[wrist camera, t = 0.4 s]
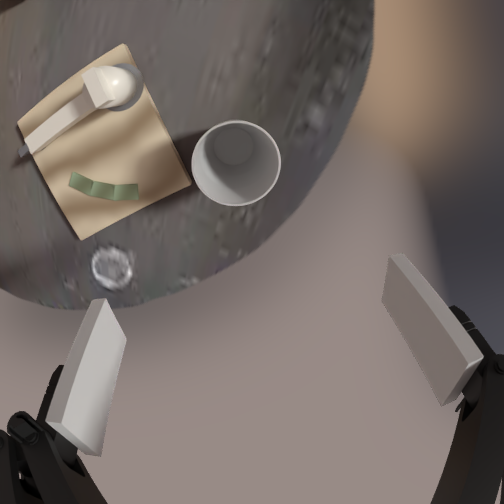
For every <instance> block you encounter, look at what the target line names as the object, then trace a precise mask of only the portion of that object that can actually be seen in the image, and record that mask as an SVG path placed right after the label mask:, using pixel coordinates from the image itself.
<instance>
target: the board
mask: <svg viewBox="0 0 504 504" xmlns="http://www.w3.org/2000/svg"><path fill="white" fill-rule="evenodd" d="M100 66H112V67H118V68H123V69H127V70H129V71H131V72H132V73H133V74H134V75H135V77H136V80H137V90H136V93H135V95H134V96H133V98H132V99H131V100H130V101H129V102H127V103H126V104H124V105H120V106H115V107H109V108H104V109H97V110H95V111H93V112H92V113H90V114H89V115H88V116H86V117H85V118H83V119H82V120H80V121H79V122H77V123H76V124H75V125H73V126H72V127H70V128H69V129H68V130H66V131H65V132H64V133H62V134H61V135H60V136H58V137H57V138H56V139H55V140H53V141H52V142H51V143H49V144H48V145H47V146H46V147H45V148H43V149H42V150H39V151H37V152H35V153H33V154H32V156H33V158H34V160H35V162H36V164H37V166H38V167H39V169H40V171H41V173H42V175H43V177H44V179H45V181H46V183H47V184H48V186H49V188H50V190H51V192H52V193H53V195H54V197H55V199H56V201H57V202H58V204H59V206H60V207H61V209H62V211H63V212H64V214H65V216H66V217H67V219H68V221H69V222H70V224H71V226H72V227H73V229H74V230H75V232H76V234H77V235H78V237H79V238H80V240H81V241H82V240H83V239H85V238H87V237H89V236H91V235H92V234H94V233H96V232H98V231H100V230H101V229H103V228H105V227H107V226H109V225H111V224H113V223H114V222H116V221H118V220H120V219H122V218H124V217H126V216H128V215H130V214H132V213H134V212H136V211H138V210H140V209H142V208H144V207H146V206H148V205H150V204H152V203H154V202H156V201H158V200H160V199H162V198H164V197H166V196H168V195H170V194H172V193H174V192H177V191H179V190H181V189H183V188H185V187H187V186H190V185H191V183H192V180H191V178H190V176H189V174H188V172H187V170H186V168H185V166H184V164H183V162H182V160H181V158H180V156H179V154H178V152H177V150H176V148H175V146H174V144H173V142H172V140H171V138H170V136H169V133H168V131H167V129H166V127H165V125H164V123H163V121H162V119H161V117H160V115H159V113H158V111H157V109H156V107H155V104H154V102H153V100H152V98H151V96H150V94H149V92H148V90H147V88H146V85H145V83H144V80H143V76H142V74H141V72H140V71H139V70H138V68H137V66H136V64H135V62H134V60H133V58H132V55H131V53H130V51H129V49H128V47H127V45H125V44H123V43H122V44H121V45H119V46H117V47H116V48H114V49H112V50H111V51H109V52H107V53H106V54H104V55H103V56H101V57H100V58H98V59H96V60H95V61H93V62H92V63H90V64H89V65H87V66H86V67H85V68H83V69H82V70H80V71H79V72H77V73H76V74H75V75H73V76H72V77H71V78H69V79H68V80H67V81H65V82H64V83H63V84H61V85H60V86H59V87H57V88H56V89H55V90H54V91H52V92H51V93H50V94H49V95H47V96H46V97H45V98H44V99H43V100H41V101H40V102H39V103H38V104H37V105H36V106H34V107H33V108H32V109H31V110H30V111H29V112H28V113H27V114H26V115H24V116H23V117H22V118H21V119H20V120H19V121H18V122H17V123H18V125H19V128H20V130H21V132H22V134H23V137H24V139H25V138H26V137H27V136H29V135H30V134H31V133H32V132H33V131H34V130H35V129H37V128H38V127H39V126H40V125H41V124H42V123H44V122H45V121H46V120H47V119H49V118H50V117H51V116H52V115H53V114H55V113H56V112H57V111H59V110H60V109H61V108H62V107H64V106H65V105H66V104H68V103H69V102H70V101H72V100H73V99H75V98H76V97H77V96H79V95H80V94H82V93H83V92H82V88H83V83H84V80H83V78H82V76H81V75H82V74H83V73H85V72H86V71H87V70H89V69H90V68H92V67H100Z"/></svg>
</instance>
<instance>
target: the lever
mask: <svg viewBox="0 0 504 504" xmlns="http://www.w3.org/2000/svg"><path fill="white" fill-rule="evenodd" d="M81 76H82V78H83V80H84V83H83V88H82V92H83V93H82V94H80V95H79V96H77V97H76V98H75V99H73V100H72V101H70V102H69V103H68V104H66V105H65V106H64V107H62V108H61V109H60V110H59V111H57V112H56V113H55V114H53V115H52V116H51V117H50V118H49V119H47V120H46V121H45V122H44V123H42V124H41V125H40V126H39V127H38V128H37V129H35V130H34V131H33V132H32V133H31V134H30V135H29V136H27V137H26V138H25V139H24V141H25V143H26V144H25V145H24V146H23V147H21V148H20V149H19V150H18V153H19V155H20V157H23V156H25V155H27V154H30V153H31V154H33V153H35V152H37V151H39V150H42V149H43V148H45V147H46V146H47V145H48V144H49V143H51V142H52V141H53V140H55V139H56V138H57V137H58V136H60V135H61V134H62V133H64V132H65V131H66V130H68V129H69V128H70V127H72V126H73V125H75V124H76V123H77V122H79V121H80V120H82V119H83V118H85V117H86V116H88V115H89V114H90V113H92V112H93V111H95V110H97V109H104V108H109V107H115V106H120V105H124V104H126V103H127V102H129V101H130V100H131V99H132V98H133V96H134V95H135V93H136V90H137V80H136V77H135V75H134V74H133V73H132V72H131V71H129V70H127V69H123V68H118V67H112V66H100V67H92V68H90V69H89V70H87V71H86V72H85V73H83V74H82V75H81Z"/></svg>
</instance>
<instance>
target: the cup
mask: <svg viewBox="0 0 504 504" xmlns="http://www.w3.org/2000/svg"><path fill="white" fill-rule="evenodd" d="M280 167H281V158H280V153H279V149H278V147H277V145H276V143H275V141H274V140H273V138H272V137H271V136H270V135H269V134H268V133H267V132H266V131H265V130H264V129H262V128H261V127H259V126H257V125H255V124H252V123H250V122H247V121H242V120H228V121H224V122H221V123H219V124H217V125H215V126H214V127H212V128H211V129H210V130H208V131H207V132H206V133H205V134H204V135H203V136H202V137H201V138H200V140H199V141H198V143H197V145H196V147H195V149H194V152H193V155H192V173H193V177H194V179H195V182H196V184H197V185H198V187H199V188H200V190H201V191H202V192H203V193H204V194H205V195H206V196H208V197H209V198H210V199H212V200H214V201H216V202H218V203H220V204H224V205H228V206H242V205H247V204H251V203H253V202H256V201H258V200H259V199H261V198H262V197H264V196H265V195H266V194H267V193H268V192H269V191H270V190H271V189H272V188H273V186H274V185H275V183H276V181H277V179H278V176H279V173H280Z"/></svg>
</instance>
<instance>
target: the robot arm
mask: <svg viewBox="0 0 504 504" xmlns="http://www.w3.org/2000/svg"><path fill="white" fill-rule="evenodd" d="M382 303H383V304H384V306H385V308H386V309H387V311H388V312H389V314H390V316H391V317H392V319H393V321H394V322H395V324H396V326H397V327H398V329H399V331H400V332H401V334H402V336H403V337H404V339H405V341H406V342H407V344H408V346H409V348H410V349H411V351H412V353H413V355H414V357H415V358H416V360H417V362H418V364H419V366H420V367H421V369H422V371H423V373H424V375H425V377H426V378H427V380H428V382H429V384H430V386H431V388H432V390H433V392H434V394H435V396H436V398H437V400H438V401H439V403H440V405H441V406H444V405H446V404H448V403H450V402H452V401H454V400H456V399H457V397H458V396H459V395H460V393H461V392H462V393H463V395H464V398H463V400H462V401H461V403H460V404H459V405H458V406H457V408H456V410H455V412H458V410H459V409H460V408H461V410H460V414H459V419H458V423H457V426H456V430H455V434H454V438H453V442H452V445H451V448H450V452H449V455H448V458H447V461H446V464H445V467H444V470H443V473H442V476H441V479H440V481H439V484H438V487H437V489H436V491H435V494H434V497H433V499H432V501H431V504H495V500H496V497H497V494H498V490H499V486H500V483H501V479H502V488H501V501H500V504H504V355H502V354H497V355H496V354H495V352H494V351H493V350H492V349H491V347H490V346H489V344H488V343H487V341H486V340H485V339H484V337H483V336H482V335H481V333H480V332H479V331H478V329H476V327H475V325H474V324H473V323H472V322H471V320H470V319H469V318H468V316H467V315H466V314H465V312H463V311H462V310H461V309H459V308H458V307H456V306H455V305H454V306H451V307H447V305H446V304H445V303H444V301H443V300H442V299H441V298H440V296H439V295H438V294H437V293H436V291H435V290H434V289H433V288H432V287H431V285H430V284H429V283H428V282H427V281H426V279H425V278H424V277H423V276H422V275H421V273H420V272H419V271H418V270H417V269H416V268H415V267H414V265H413V264H412V263H411V262H410V261H409V260H408V259H407V257H406V256H405V255H404V254H403V253H401V254H395V255H390V256H389V259H388V267H387V273H386V279H385V285H384V291H383V296H382ZM126 340H127V339H126V337H125V335H124V333H123V331H122V329H121V328H120V326H119V324H118V322H117V320H116V318H115V316H114V314H113V312H112V310H111V308H110V306H109V304H108V302H107V300H106V298H104V299H95V300H92V302H91V304H90V306H89V308H88V310H87V313H86V315H85V317H84V319H83V322H82V324H81V326H80V328H79V331H78V333H77V335H76V338H75V340H74V342H73V345H72V347H71V350H70V352H69V355H68V357H67V360H66V362H65V365H59V366H58V367H57V369H56V370H55V371H54V373H53V374H52V377H51V379H50V382H49V386H48V387H47V390H46V394H45V395H44V398H43V401H42V404H41V407H40V410H39V413H38V416H37V420H36V421H35V420H34V419H33V418H32V417H31V416H30V415H29V414H28V413H26V412H24V411H19V412H17V413H15V414H14V415H13V416H12V417H11V418H10V420H9V422H8V425H7V432H8V434H10V435H11V436H9V435H8V434H7V433H6V432H5V431H3V430H0V504H107V502H106V500H105V499H104V497H103V496H102V494H101V493H100V491H99V490H98V488H97V486H96V485H95V483H94V481H93V480H92V478H91V477H90V475H89V473H88V471H87V469H86V468H85V466H84V464H83V462H82V460H81V459H80V457H79V456H78V455H77V450H78V449H79V450H81V451H82V452H83V453H84V454H87V455H93V456H100V457H101V454H102V448H103V442H104V436H105V431H106V426H107V421H108V416H109V411H110V406H111V402H112V397H113V393H114V388H115V384H116V380H117V376H118V372H119V368H120V364H121V360H122V356H123V352H124V348H125V344H126ZM19 473H20V474H21V479H19Z"/></svg>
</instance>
